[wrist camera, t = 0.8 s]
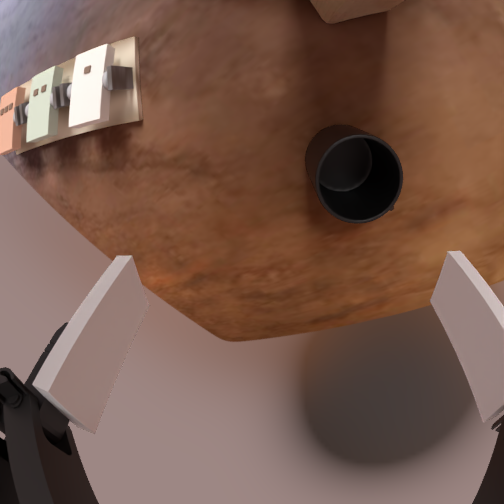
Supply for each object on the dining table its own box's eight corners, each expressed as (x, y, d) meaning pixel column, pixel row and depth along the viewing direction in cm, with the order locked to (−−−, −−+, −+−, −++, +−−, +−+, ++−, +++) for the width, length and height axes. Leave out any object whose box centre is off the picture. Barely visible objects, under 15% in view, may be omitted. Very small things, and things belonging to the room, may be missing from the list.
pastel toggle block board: (13, 91, 27) (-12, 98, 21) (138, 37, 25) (113, 30, 19) (20, 152, 33) (-4, 164, 28) (143, 119, 31) (118, 126, 26)
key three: (8, 99, 25) (-2, 98, 23) (29, 86, 25) (18, 84, 22) (4, 155, 28) (-6, 156, 26) (24, 147, 28) (13, 147, 25)
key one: (81, 61, 24) (71, 57, 22) (120, 47, 23) (110, 41, 21) (75, 129, 27) (63, 128, 25) (114, 119, 26) (103, 117, 24)
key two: (39, 81, 25) (28, 78, 22) (67, 67, 24) (57, 63, 22) (33, 143, 27) (22, 143, 25) (61, 133, 27) (49, 133, 25)
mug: (356, 218, 37) (376, 252, 29) (289, 165, 34) (295, 187, 26) (400, 169, 32) (431, 193, 25) (335, 109, 29) (357, 114, 21)
